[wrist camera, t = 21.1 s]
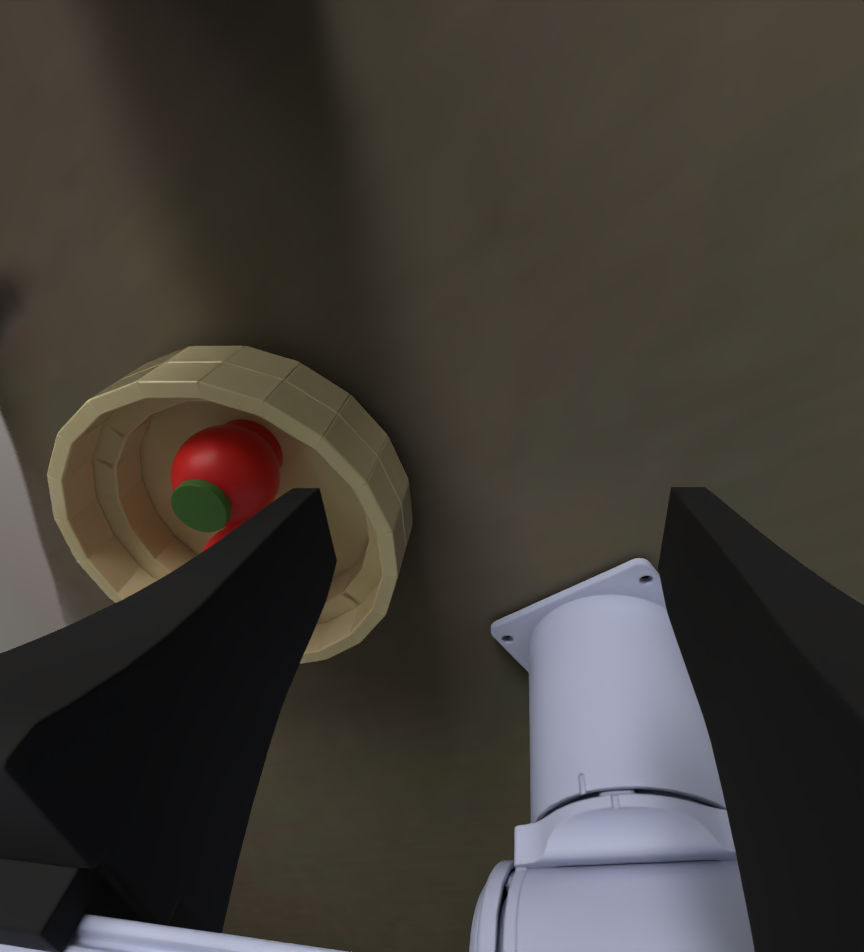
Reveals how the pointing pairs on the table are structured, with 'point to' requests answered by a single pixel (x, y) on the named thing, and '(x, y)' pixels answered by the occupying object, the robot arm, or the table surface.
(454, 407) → the table surface
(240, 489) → the strawberry
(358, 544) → the bowl
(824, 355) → the table surface
